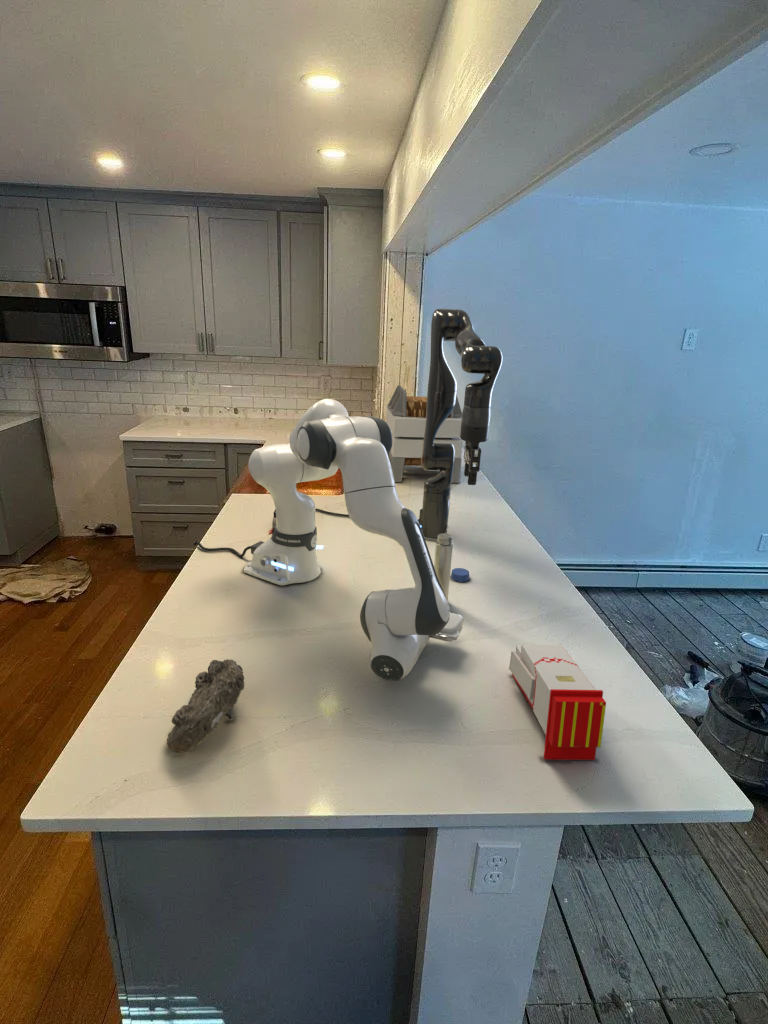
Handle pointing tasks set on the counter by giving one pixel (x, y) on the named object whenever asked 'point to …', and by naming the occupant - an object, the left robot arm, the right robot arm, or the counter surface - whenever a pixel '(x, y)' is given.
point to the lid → (460, 575)
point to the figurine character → (274, 519)
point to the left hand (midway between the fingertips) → (428, 603)
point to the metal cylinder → (443, 560)
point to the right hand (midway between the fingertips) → (469, 480)
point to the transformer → (418, 432)
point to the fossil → (206, 705)
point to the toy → (560, 700)
